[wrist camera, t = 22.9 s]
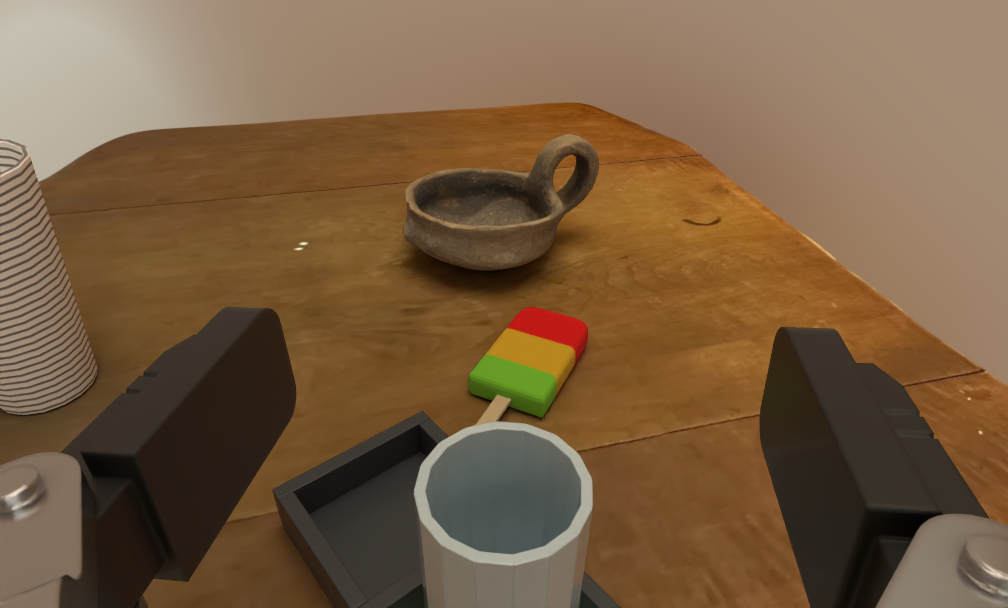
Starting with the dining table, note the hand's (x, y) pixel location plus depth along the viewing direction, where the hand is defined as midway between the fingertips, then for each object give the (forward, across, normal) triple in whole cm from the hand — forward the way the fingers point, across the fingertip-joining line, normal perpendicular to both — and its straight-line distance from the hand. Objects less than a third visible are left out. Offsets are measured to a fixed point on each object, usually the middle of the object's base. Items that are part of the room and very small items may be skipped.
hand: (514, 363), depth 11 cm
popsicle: (+26, +4, +21) cm, 33 cm away
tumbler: (+8, +2, +21) cm, 23 cm away
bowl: (+44, +7, +19) cm, 49 cm away
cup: (+22, +34, +19) cm, 45 cm away
